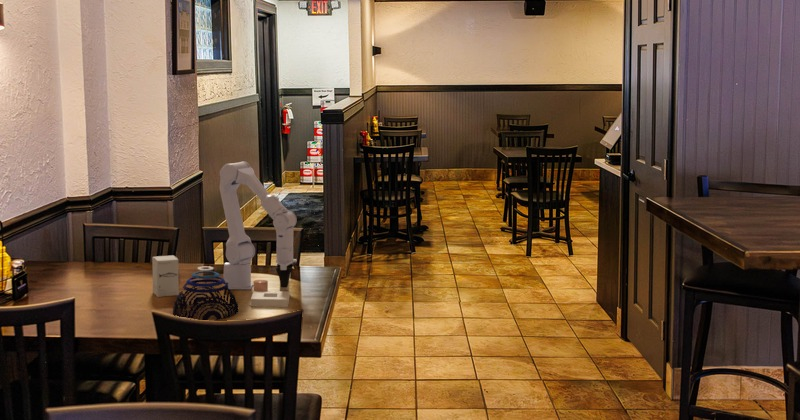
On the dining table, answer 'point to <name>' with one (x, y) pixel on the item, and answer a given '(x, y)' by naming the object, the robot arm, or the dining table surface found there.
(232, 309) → the decorative bowl
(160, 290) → the supplement box
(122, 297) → the dining table surface
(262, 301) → the hole plate
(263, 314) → the dining table surface
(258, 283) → the terracotta peg
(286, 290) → the beech pin
